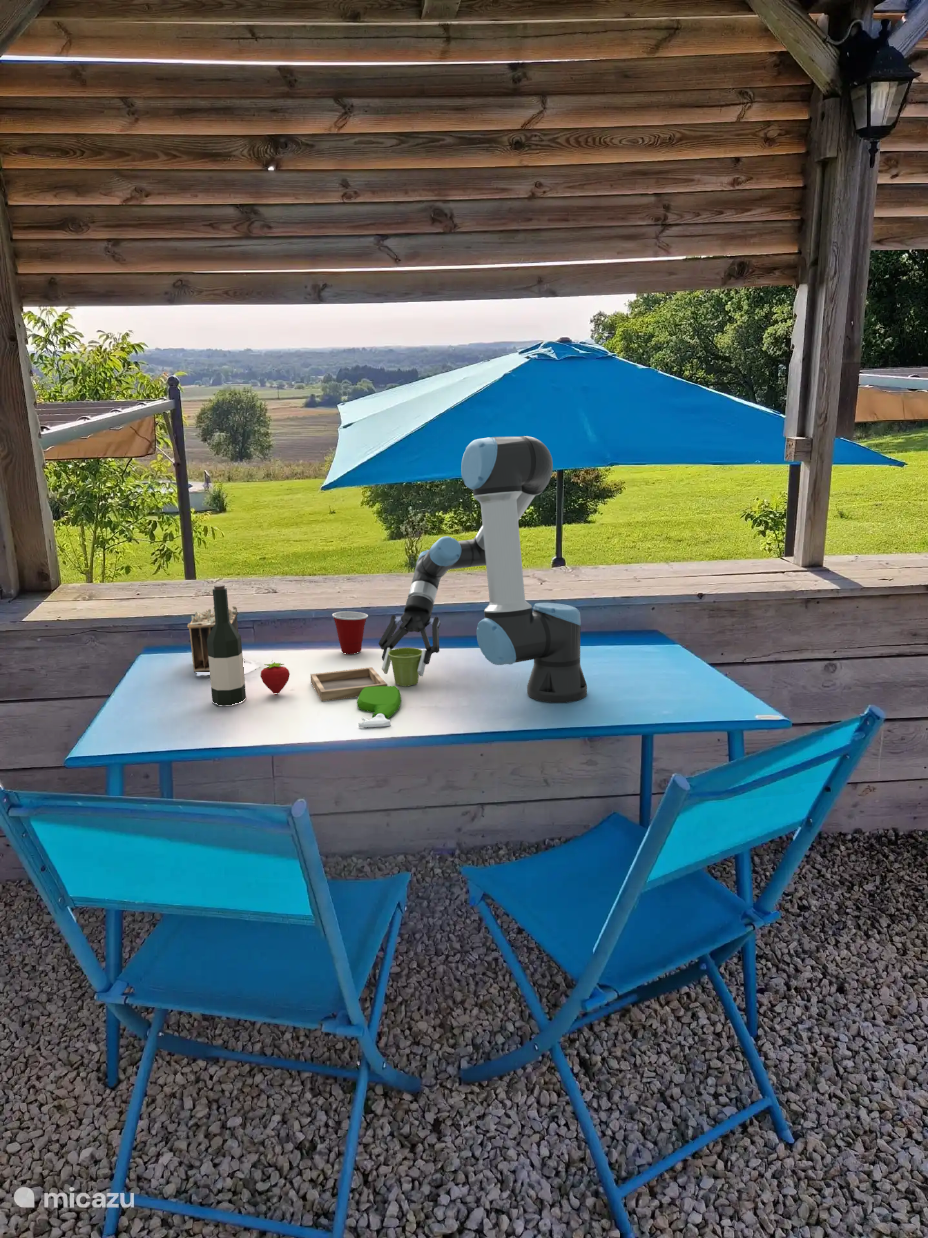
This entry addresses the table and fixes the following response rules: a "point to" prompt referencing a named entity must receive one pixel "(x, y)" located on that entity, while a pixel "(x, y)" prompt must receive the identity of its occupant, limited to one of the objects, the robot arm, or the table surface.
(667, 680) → the table surface
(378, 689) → the spray bottle
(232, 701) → the wine bottle
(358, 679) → the square wooden tray
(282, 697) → the table surface
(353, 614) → the plastic cup
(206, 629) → the wooden crate with straw
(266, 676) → the strawberry
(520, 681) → the table surface
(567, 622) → the robot arm
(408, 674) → the plant pot
